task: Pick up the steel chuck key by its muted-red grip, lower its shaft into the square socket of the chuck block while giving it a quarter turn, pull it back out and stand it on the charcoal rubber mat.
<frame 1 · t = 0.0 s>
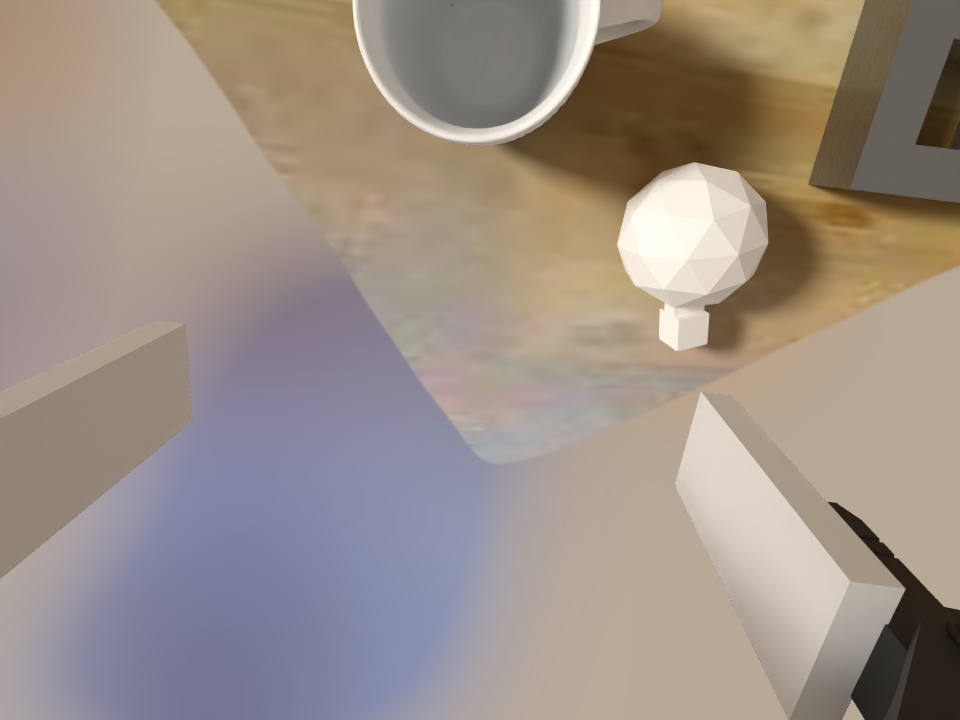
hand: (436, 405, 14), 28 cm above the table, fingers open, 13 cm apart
perfume bottle: (664, 249, 40), on the table
chuck block: (921, 106, 36), on the table
mug: (505, 55, 36), on the table
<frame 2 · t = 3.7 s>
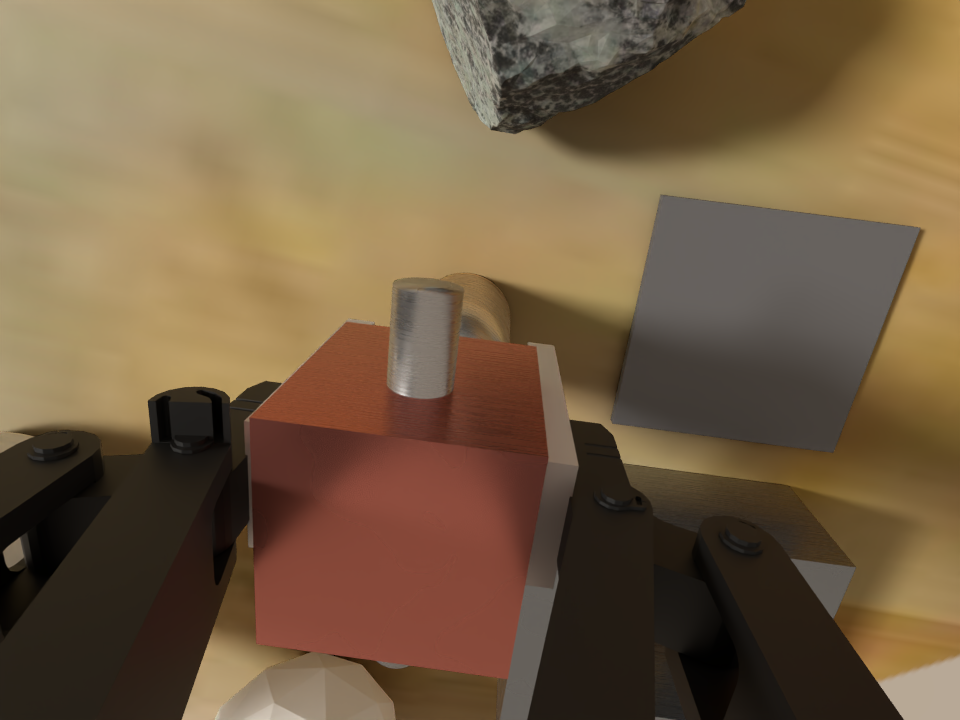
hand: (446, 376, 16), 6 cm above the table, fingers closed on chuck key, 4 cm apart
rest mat: (750, 330, 21), on the table
perfume bottle: (328, 696, 30), on the table
chuck key: (464, 318, 22), on the table, touching gripper
chuck block: (632, 571, 26), on the table
mug: (61, 490, 26), on the table
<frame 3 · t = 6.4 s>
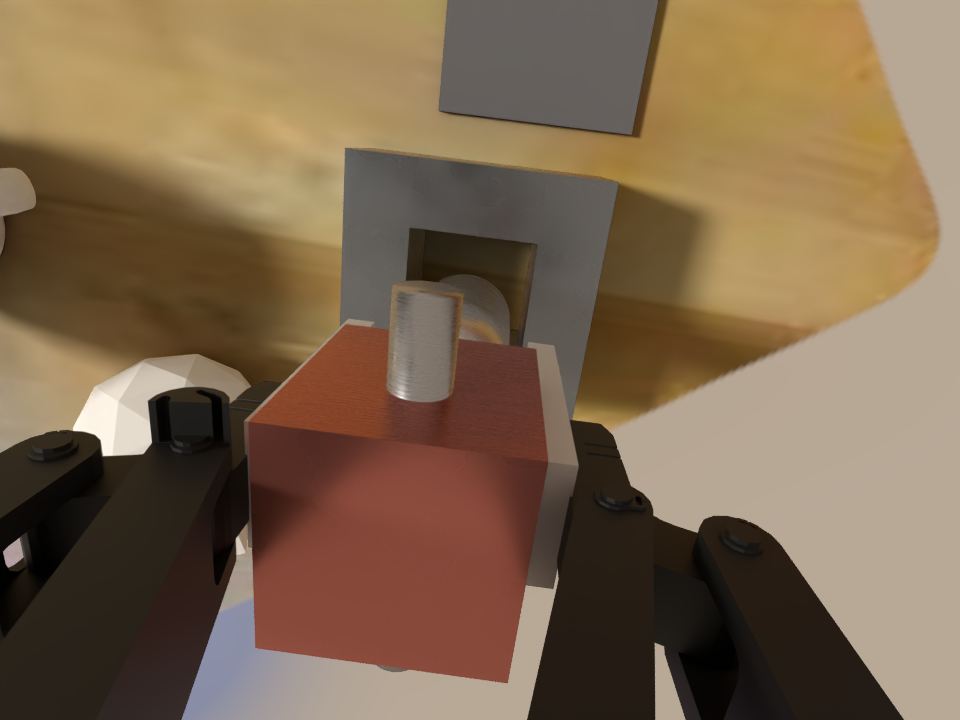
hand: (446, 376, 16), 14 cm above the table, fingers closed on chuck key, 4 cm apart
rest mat: (550, 12, 25), on the table
perfume bottle: (220, 425, 33), on the table
chuck key: (464, 319, 22), point 7 cm above the table, touching gripper
chuck block: (474, 274, 29), on the table
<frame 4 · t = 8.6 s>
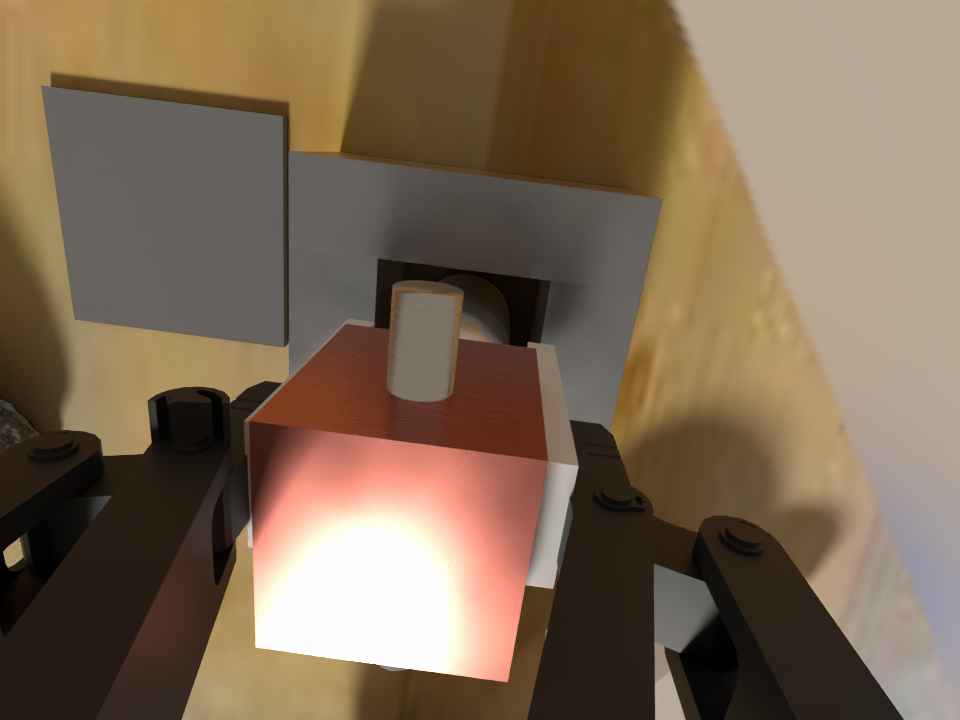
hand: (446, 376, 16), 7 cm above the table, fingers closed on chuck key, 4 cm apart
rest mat: (176, 224, 22), on the table
perfume bottle: (655, 607, 28), on the table
chuck key: (464, 319, 22), point 1 cm above the table, touching gripper
chuck block: (467, 310, 23), on the table
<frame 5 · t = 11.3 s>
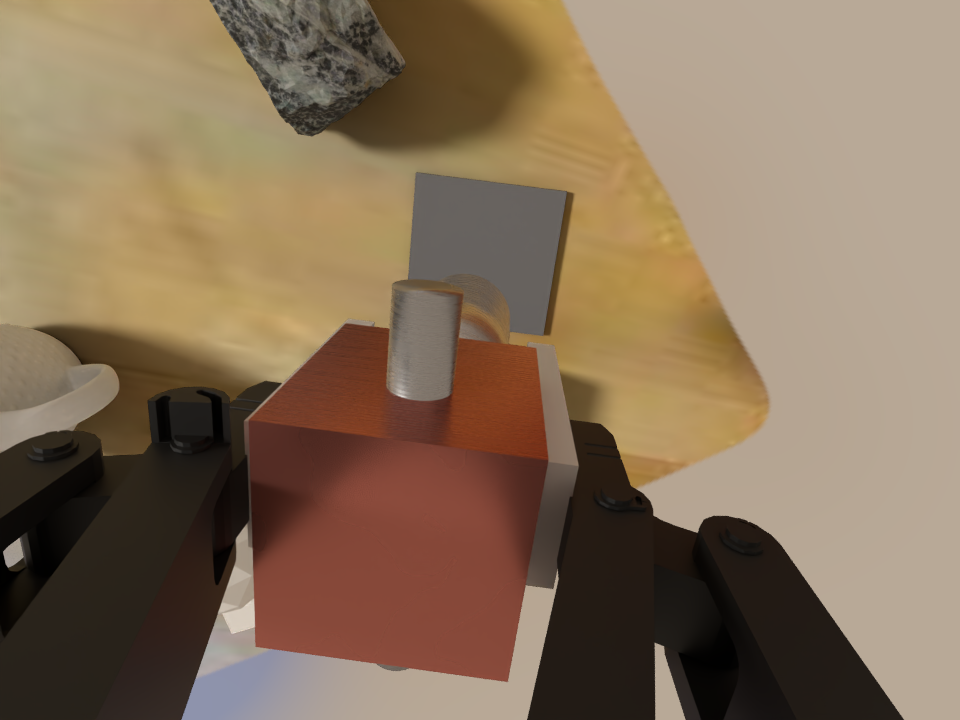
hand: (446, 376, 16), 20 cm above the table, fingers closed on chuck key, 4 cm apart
stone: (330, 39, 31), on the table
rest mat: (482, 256, 35), on the table
perfume bottle: (244, 523, 43), on the table
chuck key: (464, 318, 22), point 14 cm above the table, touching gripper
mug: (59, 371, 40), on the table
when the fingers open (8 cm above the table, at t = 13.7 s): chuck key drops 1 cm, resting on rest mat.
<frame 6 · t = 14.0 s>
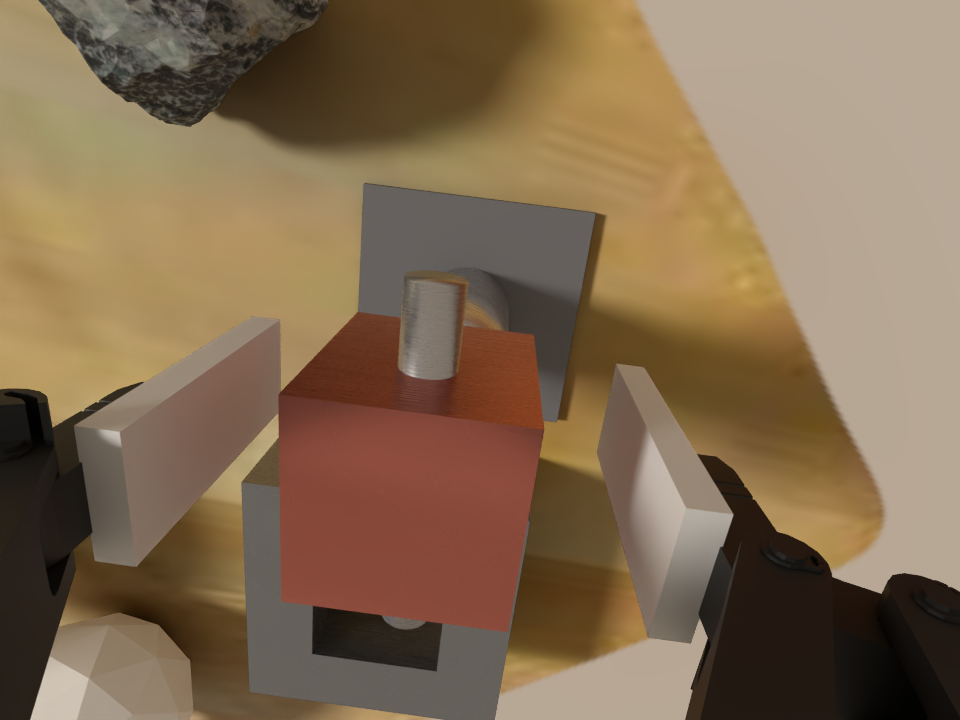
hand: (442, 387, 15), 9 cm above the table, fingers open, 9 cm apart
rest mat: (467, 308, 23), on the table
perfume bottle: (146, 658, 32), on the table
chuck key: (465, 310, 23), resting on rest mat
chuck block: (400, 536, 28), on the table
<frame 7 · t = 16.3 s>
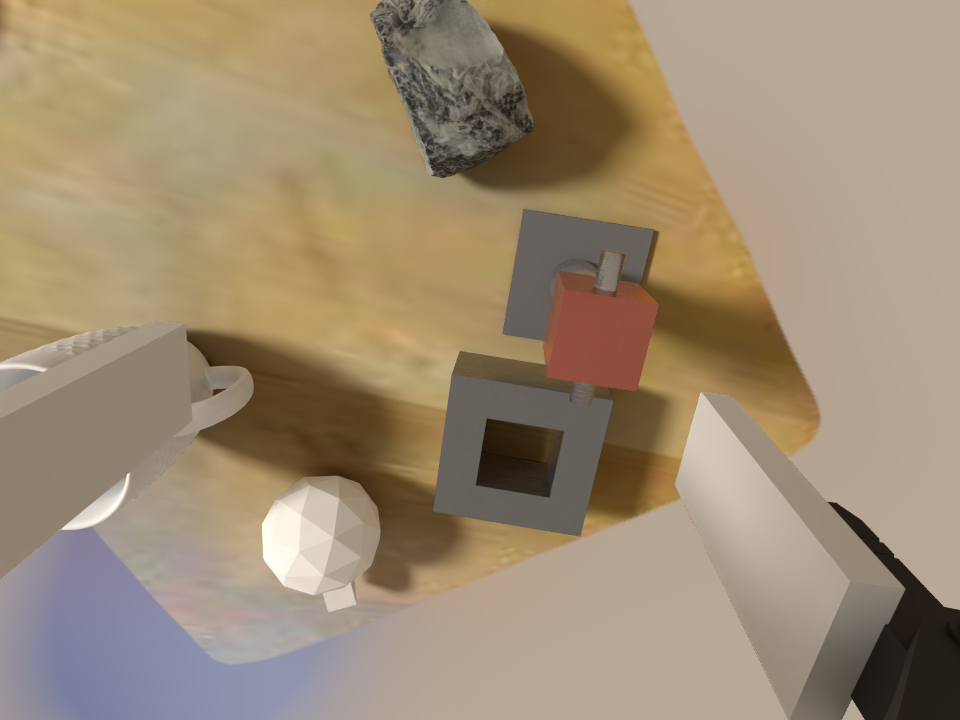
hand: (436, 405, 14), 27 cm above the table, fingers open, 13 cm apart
stone: (458, 95, 37), on the table
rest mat: (574, 283, 40), on the table
perfume bottle: (337, 513, 48), on the table
chuck key: (574, 284, 40), resting on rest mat
chuck block: (519, 427, 44), on the table
mug: (186, 371, 45), on the table
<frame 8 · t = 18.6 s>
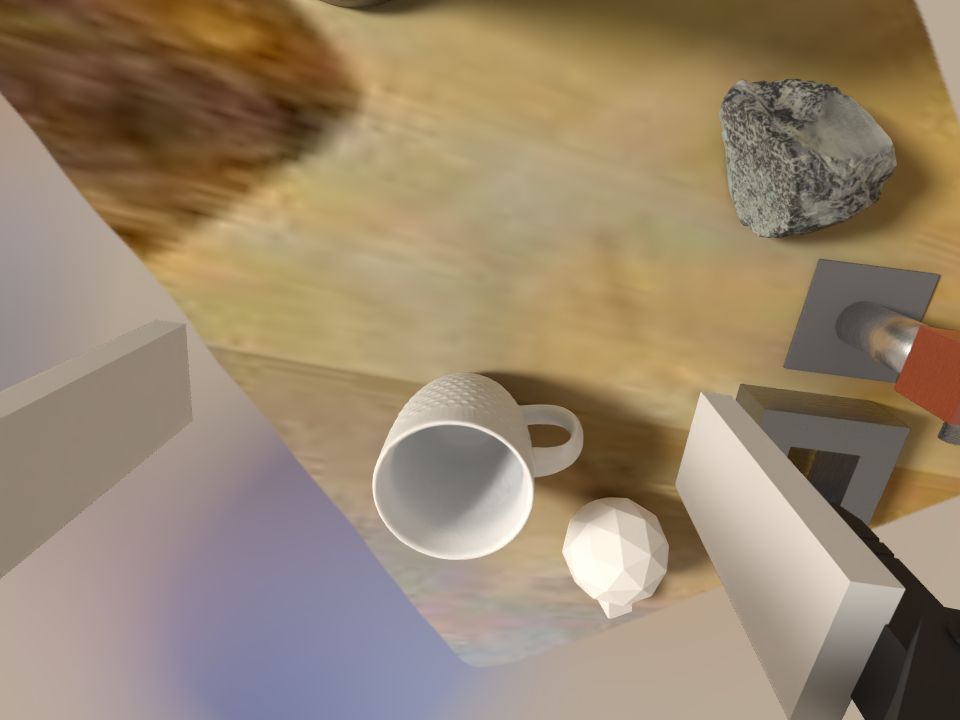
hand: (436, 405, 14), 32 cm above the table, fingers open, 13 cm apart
stone: (771, 161, 41), on the table
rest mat: (856, 321, 45), on the table
perfume bottle: (602, 529, 53), on the table
chuck key: (859, 323, 44), resting on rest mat
chuck block: (785, 449, 49), on the table
mug: (480, 408, 49), on the table
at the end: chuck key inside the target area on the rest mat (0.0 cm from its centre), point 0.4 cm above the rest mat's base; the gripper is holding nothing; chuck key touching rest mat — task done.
